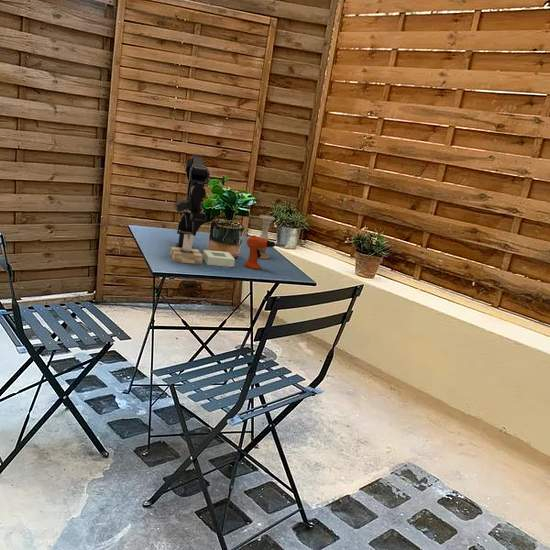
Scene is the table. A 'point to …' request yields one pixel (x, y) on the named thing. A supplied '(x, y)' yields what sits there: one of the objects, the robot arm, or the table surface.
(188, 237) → the silver flared cylinder
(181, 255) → the socket block
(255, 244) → the toy drill
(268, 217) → the candle holder
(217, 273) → the table surface
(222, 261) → the square block with hole
